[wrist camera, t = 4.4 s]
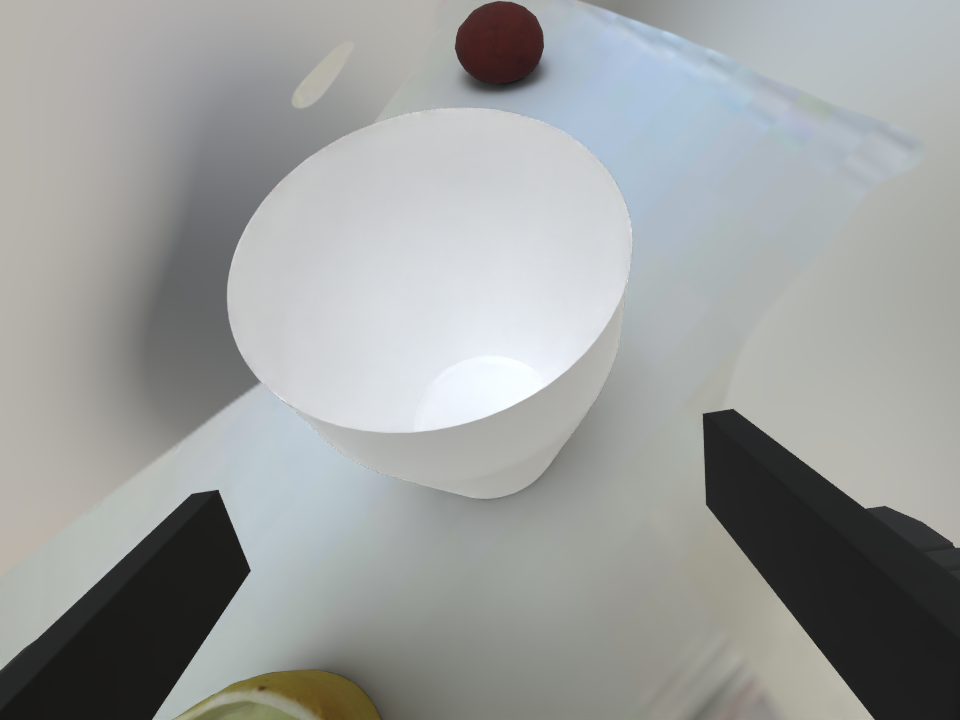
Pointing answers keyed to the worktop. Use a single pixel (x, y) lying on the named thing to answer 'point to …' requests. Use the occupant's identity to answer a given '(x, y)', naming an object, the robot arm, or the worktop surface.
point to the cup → (438, 295)
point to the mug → (287, 699)
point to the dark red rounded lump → (499, 42)
